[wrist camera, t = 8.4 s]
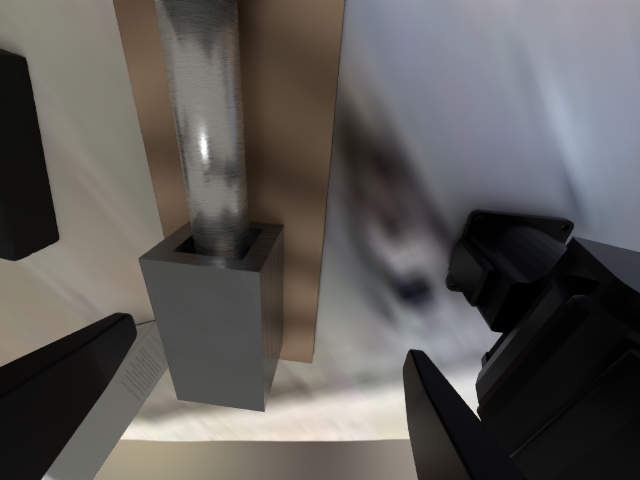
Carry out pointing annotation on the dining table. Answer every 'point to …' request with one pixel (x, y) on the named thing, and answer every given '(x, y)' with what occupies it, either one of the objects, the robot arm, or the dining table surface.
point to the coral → (22, 167)
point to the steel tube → (208, 119)
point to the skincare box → (113, 409)
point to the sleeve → (219, 316)
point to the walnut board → (258, 132)
